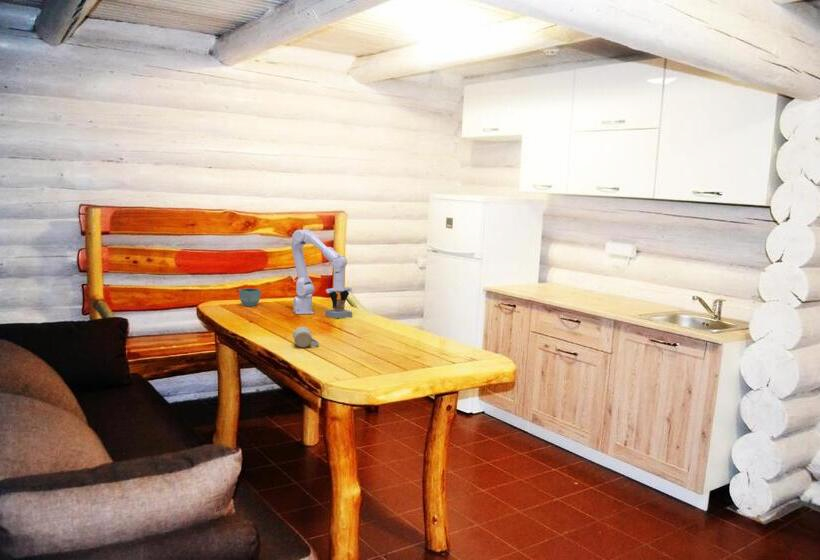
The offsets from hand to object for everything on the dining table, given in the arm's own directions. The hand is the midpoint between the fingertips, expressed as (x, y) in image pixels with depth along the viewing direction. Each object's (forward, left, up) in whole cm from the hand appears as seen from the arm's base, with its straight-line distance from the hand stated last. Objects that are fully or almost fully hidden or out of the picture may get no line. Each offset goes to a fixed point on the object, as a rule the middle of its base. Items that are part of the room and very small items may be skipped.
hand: (338, 305), depth 355 cm
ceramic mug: (-31, -60, -6) cm, 68 cm away
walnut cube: (0, 0, -2) cm, 2 cm away
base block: (0, 0, -6) cm, 6 cm away
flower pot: (-40, +38, -6) cm, 55 cm away
